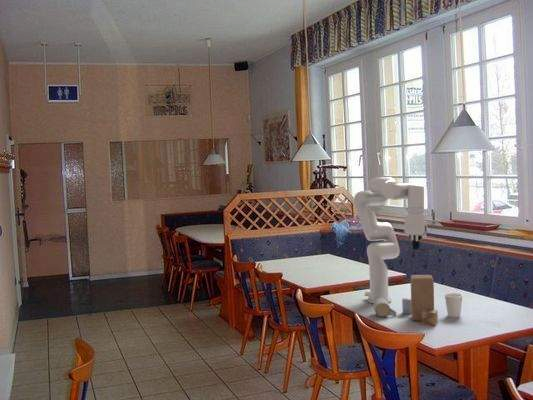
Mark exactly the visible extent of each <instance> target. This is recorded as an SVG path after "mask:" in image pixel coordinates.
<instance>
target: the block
mask: <svg viewBox="0 0 533 400" xmlns="http://www.w3.org/2000/svg"><path fill="white" fill-rule="evenodd" d="M434 280H435V279H434V278H433V276H432V275H431V274H411V275H410V298H411V314H410V315H411V319H412V321H414V322H422V311H423V310H424V309H431V310H435V285H434V284H435V282H434Z"/></svg>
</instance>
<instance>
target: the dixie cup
mask: <svg viewBox="0 0 533 400" xmlns="http://www.w3.org/2000/svg"><path fill="white" fill-rule="evenodd" d="M444 300H445V306H446V312H447V313H446V314H447V317H449V318H460V317H461V311H462V303H463V294H462V293H457V292H452V293H451V292H450V293H448V292H447V293H445V294H444Z"/></svg>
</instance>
